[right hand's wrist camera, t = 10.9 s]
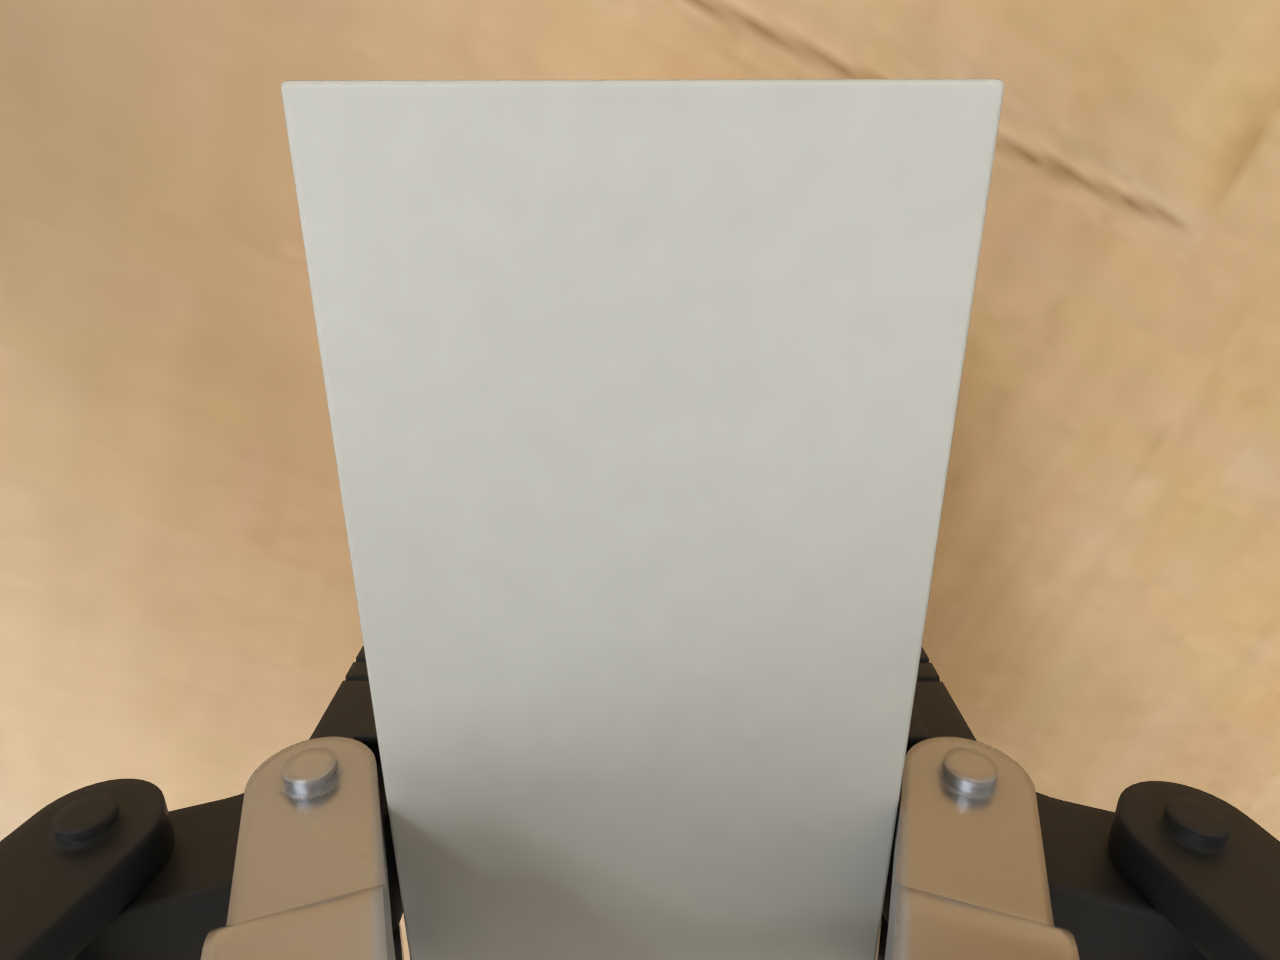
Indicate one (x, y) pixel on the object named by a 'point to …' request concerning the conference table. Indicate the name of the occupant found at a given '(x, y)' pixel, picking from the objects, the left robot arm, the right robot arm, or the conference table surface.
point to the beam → (642, 487)
